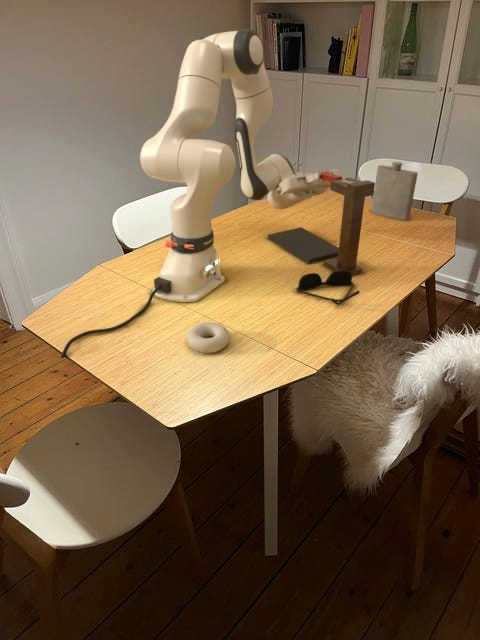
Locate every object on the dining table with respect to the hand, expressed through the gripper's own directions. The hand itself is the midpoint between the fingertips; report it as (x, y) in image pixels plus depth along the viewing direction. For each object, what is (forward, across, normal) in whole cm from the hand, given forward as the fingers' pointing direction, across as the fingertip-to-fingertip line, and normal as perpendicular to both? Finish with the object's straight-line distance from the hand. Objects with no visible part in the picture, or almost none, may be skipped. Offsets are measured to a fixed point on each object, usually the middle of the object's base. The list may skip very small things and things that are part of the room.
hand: (324, 174), depth 138 cm
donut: (+11, -52, +36) cm, 65 cm away
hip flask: (-26, +46, +15) cm, 55 cm away
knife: (+6, 0, +4) cm, 7 cm away
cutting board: (-20, 0, +18) cm, 27 cm away
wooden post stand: (-2, 0, +28) cm, 29 cm away
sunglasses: (+9, -14, +35) cm, 39 cm away
